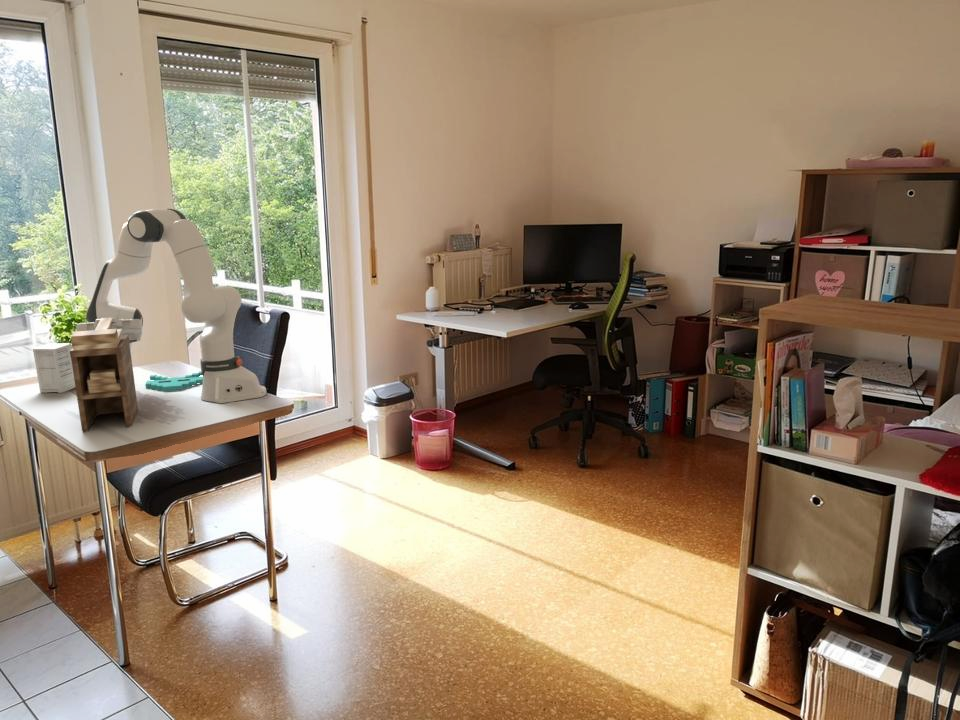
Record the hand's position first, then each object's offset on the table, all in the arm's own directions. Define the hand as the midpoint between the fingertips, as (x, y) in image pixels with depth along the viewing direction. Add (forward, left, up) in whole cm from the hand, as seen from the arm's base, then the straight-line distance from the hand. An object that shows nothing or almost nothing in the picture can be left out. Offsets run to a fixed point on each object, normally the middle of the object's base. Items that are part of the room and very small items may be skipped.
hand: (105, 320), depth 248 cm
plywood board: (0, +11, -3) cm, 11 cm away
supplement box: (+24, -33, -30) cm, 51 cm away
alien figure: (-17, -25, -31) cm, 43 cm away
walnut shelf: (0, +15, -30) cm, 34 cm away
